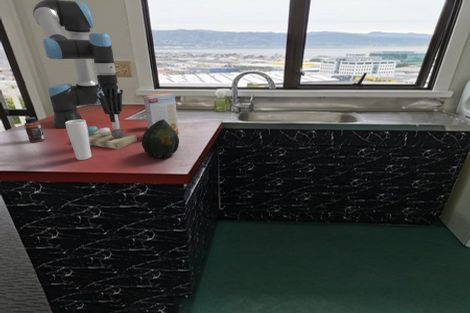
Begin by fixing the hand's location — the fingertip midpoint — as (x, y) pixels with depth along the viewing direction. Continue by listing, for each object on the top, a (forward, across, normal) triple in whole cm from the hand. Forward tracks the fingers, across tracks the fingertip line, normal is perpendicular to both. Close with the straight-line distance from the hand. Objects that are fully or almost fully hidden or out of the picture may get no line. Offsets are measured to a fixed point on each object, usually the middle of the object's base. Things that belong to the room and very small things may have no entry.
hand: (116, 128), depth 113 cm
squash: (+8, -4, -27) cm, 28 cm away
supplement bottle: (+8, -11, +40) cm, 42 cm away
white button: (+3, 0, +8) cm, 9 cm away
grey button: (+3, 0, 0) cm, 3 cm away
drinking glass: (+8, -19, 0) cm, 20 cm away
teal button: (+3, 0, +16) cm, 16 cm away
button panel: (+7, 0, +8) cm, 11 cm away
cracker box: (+8, +18, -12) cm, 23 cm away
